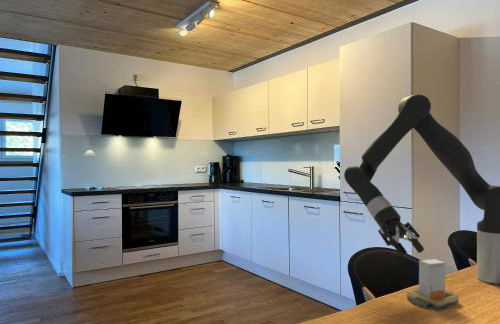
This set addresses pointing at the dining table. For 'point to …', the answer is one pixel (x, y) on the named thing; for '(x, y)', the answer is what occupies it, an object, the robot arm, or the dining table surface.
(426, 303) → the beige grey rectangular frame
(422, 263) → the skincare box
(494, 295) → the dining table surface
